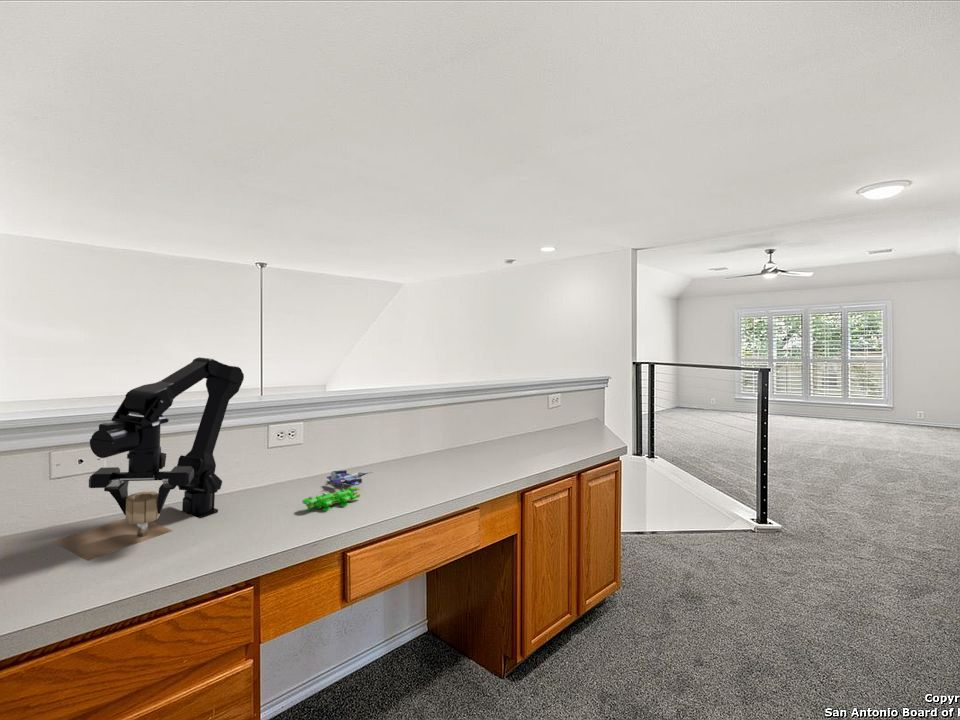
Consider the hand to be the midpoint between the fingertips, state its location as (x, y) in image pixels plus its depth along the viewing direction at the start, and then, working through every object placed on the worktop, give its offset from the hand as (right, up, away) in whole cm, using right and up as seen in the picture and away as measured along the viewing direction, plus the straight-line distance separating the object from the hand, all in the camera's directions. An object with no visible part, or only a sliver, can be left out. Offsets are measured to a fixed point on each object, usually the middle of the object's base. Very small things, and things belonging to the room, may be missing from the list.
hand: (143, 513), depth 111 cm
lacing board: (-6, -6, -1) cm, 8 cm away
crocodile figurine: (+33, -7, +30) cm, 45 cm away
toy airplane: (+34, -6, +46) cm, 58 cm away
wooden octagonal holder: (0, -1, 0) cm, 1 cm away
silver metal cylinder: (0, -5, 0) cm, 5 cm away
